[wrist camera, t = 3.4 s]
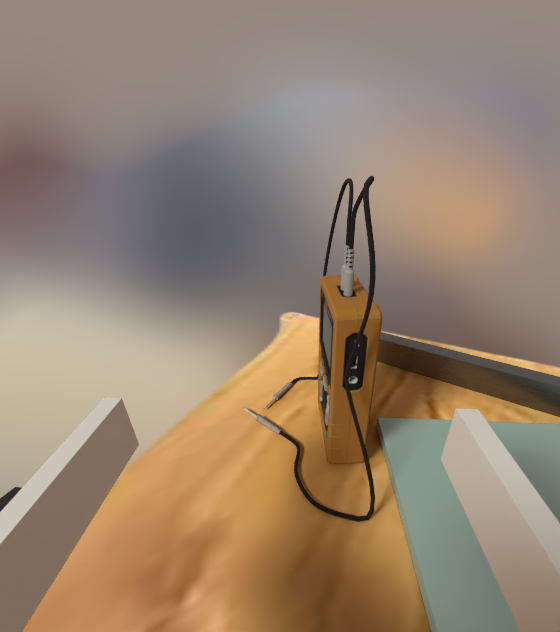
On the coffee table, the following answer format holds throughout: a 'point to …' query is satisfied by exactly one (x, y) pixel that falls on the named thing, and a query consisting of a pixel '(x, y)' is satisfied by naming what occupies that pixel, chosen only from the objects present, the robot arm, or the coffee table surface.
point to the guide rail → (473, 373)
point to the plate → (459, 517)
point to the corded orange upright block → (345, 356)
